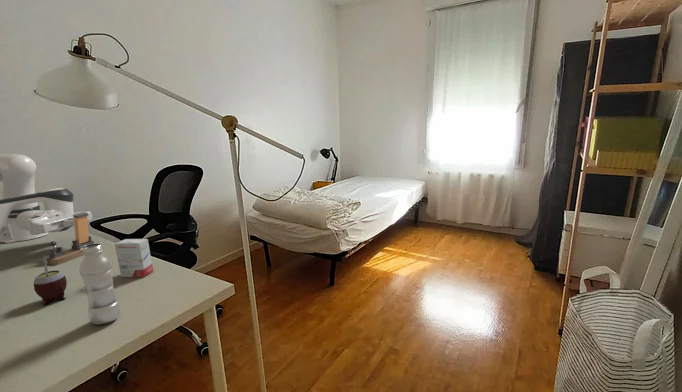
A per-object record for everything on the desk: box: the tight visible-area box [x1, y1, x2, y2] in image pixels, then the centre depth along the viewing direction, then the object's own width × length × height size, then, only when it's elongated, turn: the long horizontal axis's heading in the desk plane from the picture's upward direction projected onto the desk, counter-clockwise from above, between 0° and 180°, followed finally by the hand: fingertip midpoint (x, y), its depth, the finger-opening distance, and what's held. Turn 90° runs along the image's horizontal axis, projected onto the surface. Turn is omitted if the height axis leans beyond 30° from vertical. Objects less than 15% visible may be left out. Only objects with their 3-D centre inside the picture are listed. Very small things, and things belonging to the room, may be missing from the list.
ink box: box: [114, 238, 154, 278], centre depth 110 cm, size 9×5×12 cm, turn 84°
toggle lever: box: [49, 240, 57, 251], centre depth 125 cm, size 2×2×4 cm
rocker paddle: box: [73, 211, 90, 244], centre depth 133 cm, size 2×4×12 cm, turn 167°
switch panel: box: [42, 235, 95, 266], centre depth 130 cm, size 7×16×6 cm, turn 167°
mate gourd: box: [33, 255, 68, 306], centre depth 94 cm, size 8×8×15 cm
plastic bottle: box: [79, 242, 121, 326], centre depth 82 cm, size 6×7×20 cm
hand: (78, 222), depth 132 cm, fingers closed, pressing on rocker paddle
